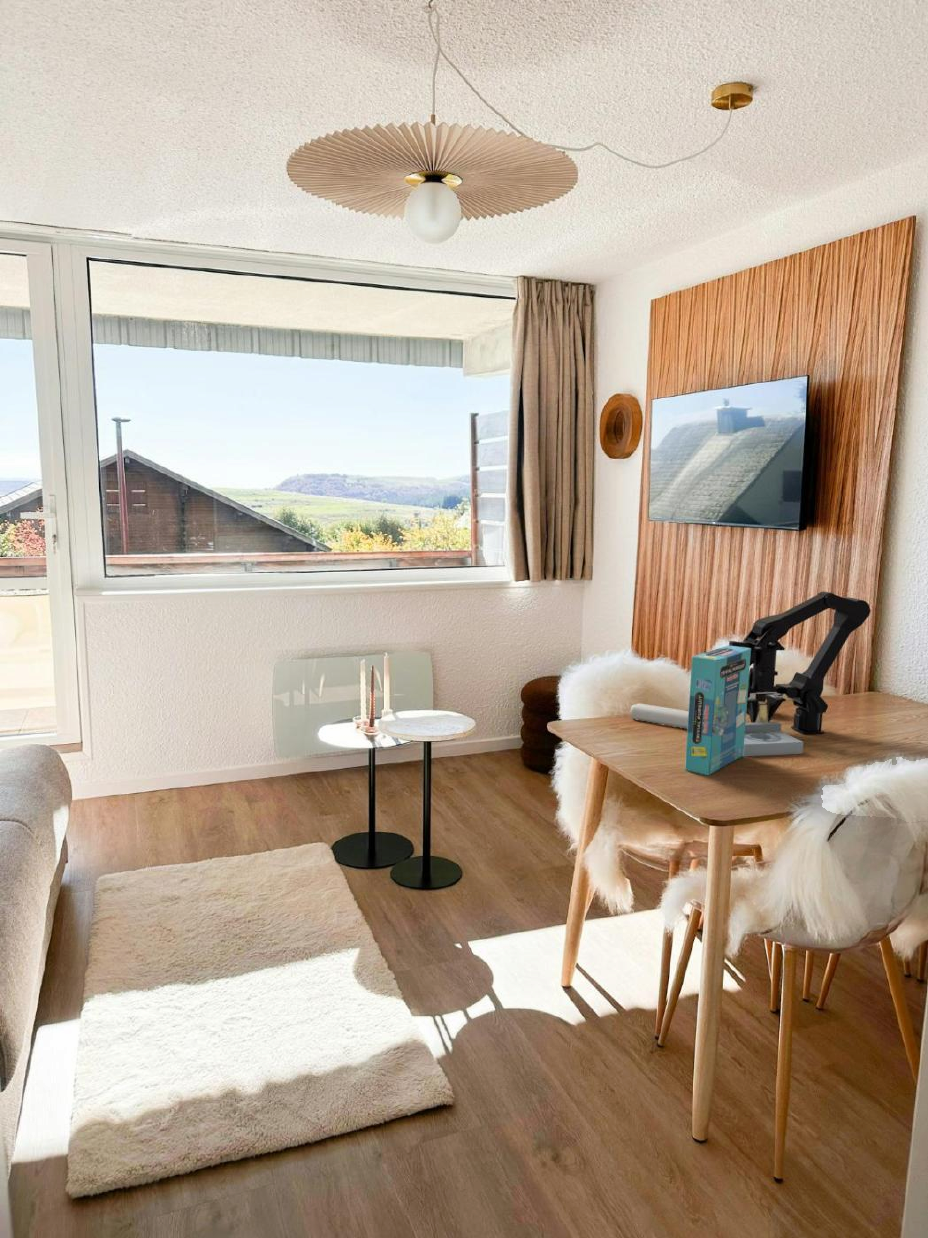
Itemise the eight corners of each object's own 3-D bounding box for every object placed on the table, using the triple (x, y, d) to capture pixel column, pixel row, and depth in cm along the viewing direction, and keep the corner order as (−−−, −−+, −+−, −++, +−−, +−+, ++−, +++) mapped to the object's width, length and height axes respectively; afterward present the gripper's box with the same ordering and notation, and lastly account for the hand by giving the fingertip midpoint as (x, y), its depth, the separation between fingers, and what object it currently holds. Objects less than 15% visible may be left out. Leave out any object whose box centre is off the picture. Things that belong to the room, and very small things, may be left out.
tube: (625, 707, 245) (712, 721, 230) (634, 698, 249) (719, 711, 234) (627, 723, 247) (713, 738, 232) (635, 714, 251) (720, 728, 236)
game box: (719, 751, 217) (726, 644, 213) (744, 756, 213) (751, 648, 209) (683, 770, 201) (690, 655, 197) (709, 776, 197) (717, 659, 193)
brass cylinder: (762, 729, 238) (764, 701, 237) (770, 733, 234) (772, 704, 233) (748, 730, 237) (750, 701, 236) (756, 734, 233) (758, 705, 232)
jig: (775, 740, 228) (777, 721, 227) (802, 753, 216) (804, 734, 216) (720, 742, 225) (721, 723, 224) (744, 756, 213) (745, 736, 212)
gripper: (778, 659, 243) (774, 714, 245) (717, 661, 239) (714, 716, 241) (802, 667, 232) (797, 724, 234) (738, 669, 228) (734, 726, 231)
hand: (760, 722), depth 235 cm, fingers closed on brass cylinder, 4 cm apart
